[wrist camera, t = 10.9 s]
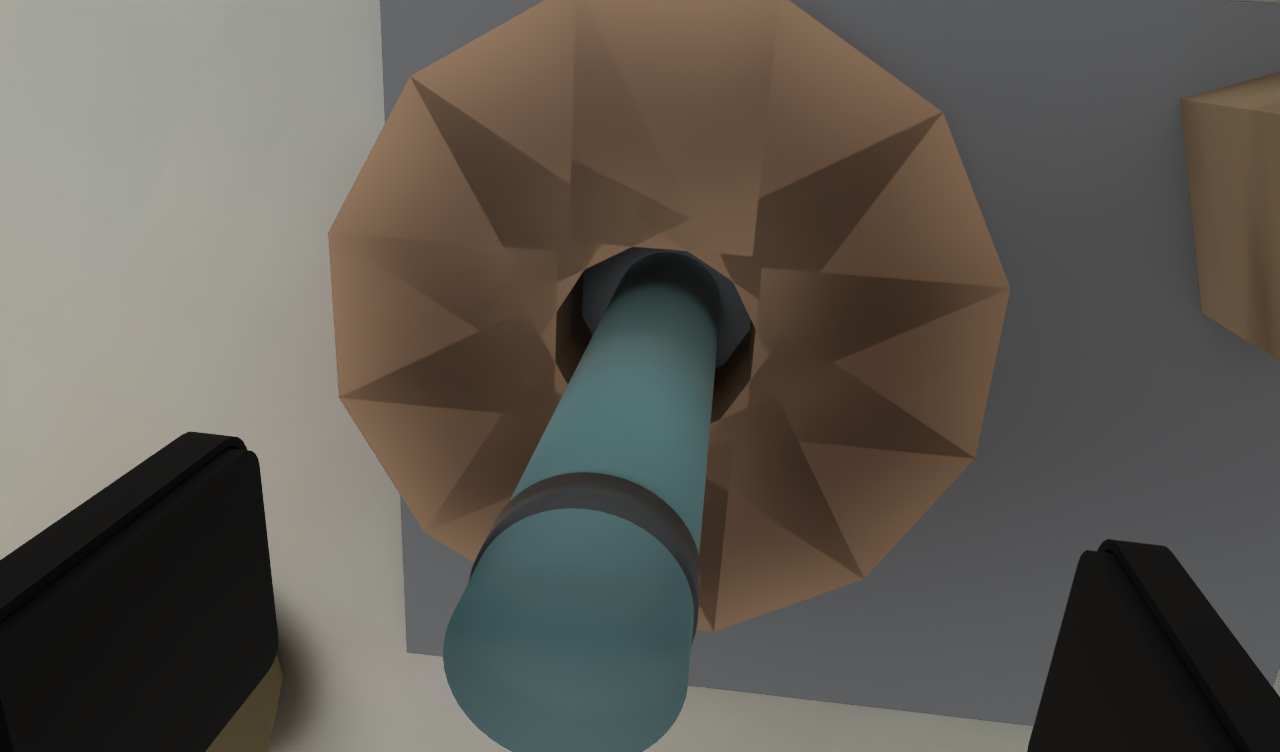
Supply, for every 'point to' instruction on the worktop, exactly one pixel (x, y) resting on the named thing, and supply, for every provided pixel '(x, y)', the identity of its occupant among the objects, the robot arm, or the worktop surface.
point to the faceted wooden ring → (688, 221)
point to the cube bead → (1237, 205)
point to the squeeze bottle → (253, 717)
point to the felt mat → (1010, 357)
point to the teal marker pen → (601, 537)
